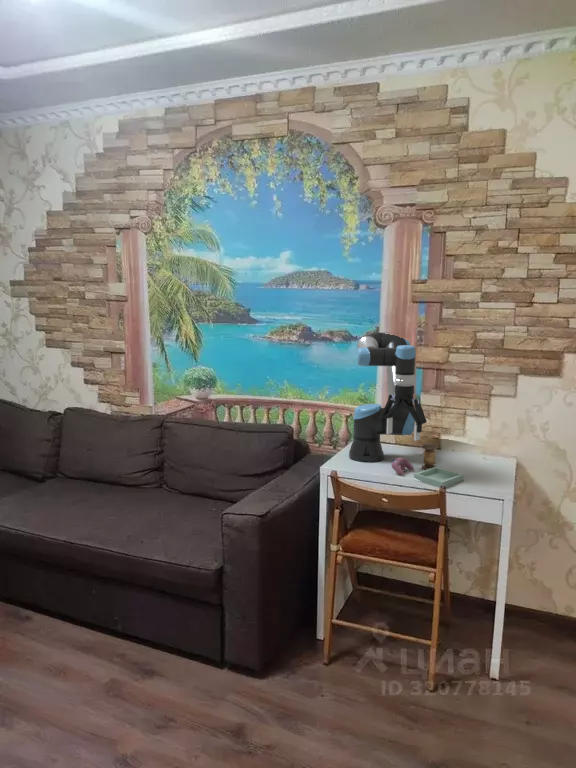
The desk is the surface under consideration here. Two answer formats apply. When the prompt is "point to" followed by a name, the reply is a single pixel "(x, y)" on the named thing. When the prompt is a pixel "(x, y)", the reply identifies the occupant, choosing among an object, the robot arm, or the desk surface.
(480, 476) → the desk surface
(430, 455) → the bobbin
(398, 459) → the video game controller
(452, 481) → the green square tray
